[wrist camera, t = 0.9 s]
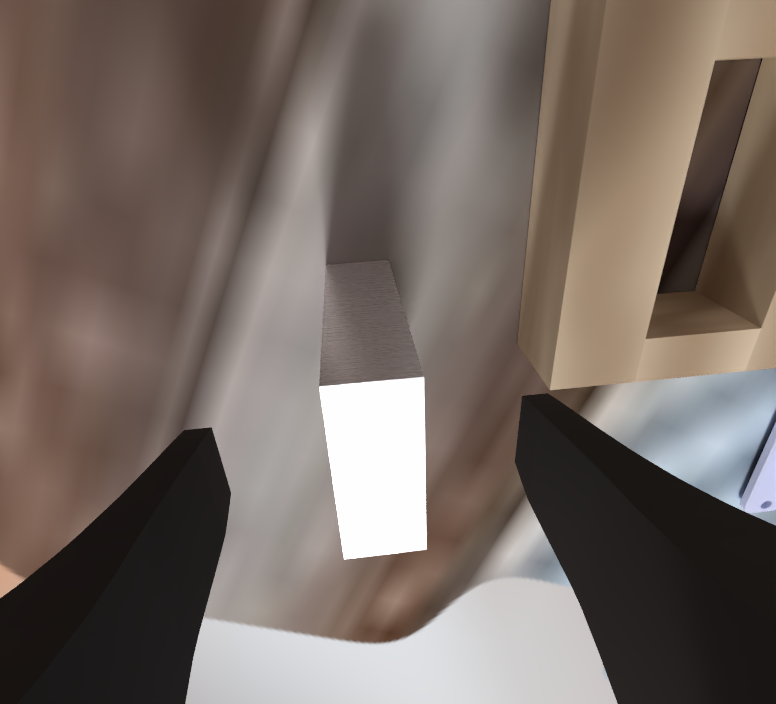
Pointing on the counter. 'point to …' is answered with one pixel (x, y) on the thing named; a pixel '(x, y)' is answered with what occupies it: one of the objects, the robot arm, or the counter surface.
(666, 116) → the slotted wooden frame
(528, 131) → the counter surface
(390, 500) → the steel bracket tab
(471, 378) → the counter surface
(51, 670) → the robot arm
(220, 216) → the counter surface
